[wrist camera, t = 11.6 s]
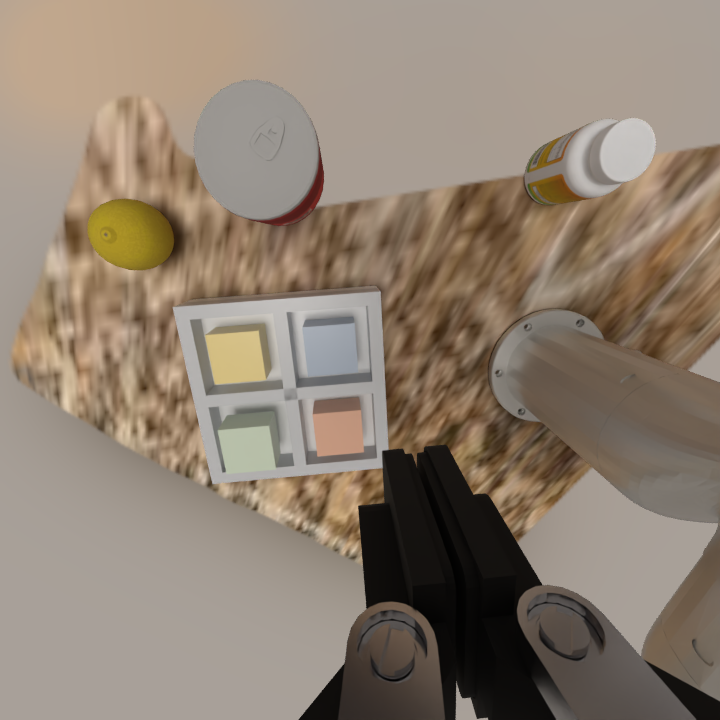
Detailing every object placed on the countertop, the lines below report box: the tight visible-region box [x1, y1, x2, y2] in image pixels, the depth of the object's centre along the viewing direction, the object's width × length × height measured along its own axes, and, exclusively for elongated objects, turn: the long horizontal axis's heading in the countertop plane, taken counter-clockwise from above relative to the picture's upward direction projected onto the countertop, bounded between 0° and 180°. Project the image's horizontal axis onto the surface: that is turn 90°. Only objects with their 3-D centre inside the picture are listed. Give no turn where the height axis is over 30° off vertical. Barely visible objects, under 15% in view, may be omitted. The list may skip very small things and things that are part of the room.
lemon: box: [88, 199, 174, 270], centre depth 30 cm, size 6×6×8 cm
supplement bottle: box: [524, 118, 656, 205], centre depth 30 cm, size 5×5×10 cm
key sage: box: [218, 411, 281, 474], centre depth 35 cm, size 5×5×3 cm
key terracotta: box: [312, 397, 364, 457], centre depth 37 cm, size 5×5×3 cm
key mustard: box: [205, 324, 272, 384], centre depth 34 cm, size 5×5×3 cm
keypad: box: [173, 285, 388, 484], centre depth 37 cm, size 18×18×4 cm
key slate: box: [302, 317, 358, 377], centre depth 35 cm, size 5×5×3 cm
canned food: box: [194, 80, 324, 226], centre depth 28 cm, size 8×8×11 cm
